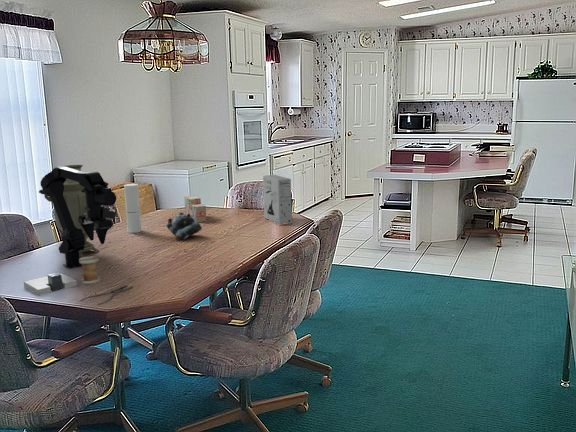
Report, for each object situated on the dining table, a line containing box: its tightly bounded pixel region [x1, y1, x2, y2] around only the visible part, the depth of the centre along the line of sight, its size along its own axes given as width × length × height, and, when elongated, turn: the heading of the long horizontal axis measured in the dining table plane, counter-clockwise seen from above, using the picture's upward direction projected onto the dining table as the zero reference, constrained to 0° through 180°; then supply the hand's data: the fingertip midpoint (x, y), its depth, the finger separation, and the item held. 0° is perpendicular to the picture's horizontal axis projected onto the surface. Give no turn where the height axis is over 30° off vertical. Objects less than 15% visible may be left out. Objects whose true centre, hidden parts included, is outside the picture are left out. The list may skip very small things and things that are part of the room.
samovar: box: [38, 164, 109, 255], centre depth 254 cm, size 30×26×40 cm
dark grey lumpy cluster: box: [165, 212, 203, 241], centre depth 284 cm, size 15×12×14 cm
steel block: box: [47, 272, 64, 292], centre depth 208 cm, size 4×4×6 cm
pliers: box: [80, 284, 134, 306], centre depth 201 cm, size 10×1×20 cm
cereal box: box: [262, 174, 293, 225], centre depth 317 cm, size 22×8×25 cm, turn 25°
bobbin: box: [79, 255, 101, 285], centre depth 215 cm, size 7×7×9 cm
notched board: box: [23, 272, 78, 296], centre depth 212 cm, size 14×14×2 cm
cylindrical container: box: [123, 183, 142, 234], centre depth 299 cm, size 7×7×25 cm
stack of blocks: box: [183, 195, 207, 223], centre depth 330 cm, size 21×6×12 cm, turn 26°
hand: (97, 242), depth 228 cm, fingers open, 9 cm apart
